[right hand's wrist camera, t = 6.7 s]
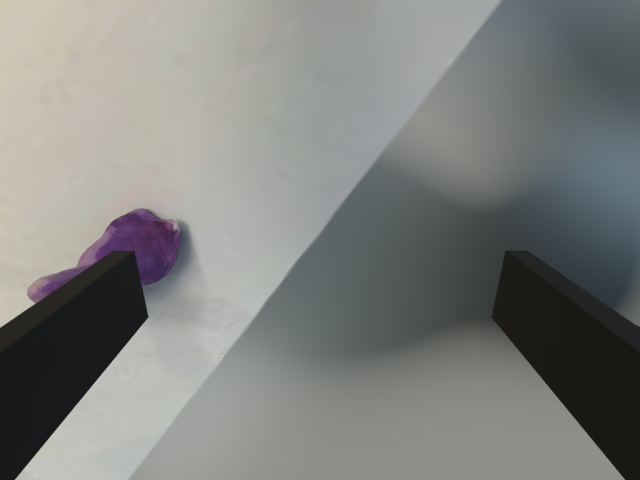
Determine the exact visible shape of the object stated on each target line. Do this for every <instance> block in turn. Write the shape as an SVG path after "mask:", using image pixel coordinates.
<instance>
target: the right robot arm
mask: <svg viewBox="0 0 640 480" xmlns="http://www.w3.org/2000/svg"><path fill="white" fill-rule="evenodd" d="M147 318H148V313H147V308H146V303H145V299H144V294H143V289H142V284H141V279H140V275H139V270H138V265H137V260H136V255H135V251H112V252H110V253H109V254H107V255H106V256H104V257H103V258H101V259H100V260H99V261H97V262H96V263H94V264H93V265H91V266H90V267H88V268H87V269H85V270H84V271H82V272H81V273H80V274H78V275H77V276H75V277H74V278H72V279H71V280H69V281H68V282H66V283H65V284H64V285H62V286H61V287H59V288H58V289H56V290H55V291H53V292H52V293H50V294H49V295H47V296H46V297H45V298H43V299H42V300H40V301H39V302H37V303H36V304H34V305H33V306H31V307H30V308H29V309H27V310H26V311H24V312H23V313H21V314H20V315H18V316H17V317H15V318H14V319H13V320H11V321H10V322H8V323H7V324H5V325H4V326H2V327H1V328H0V480H15V479H16V478H17V476H18V475H19V474H20V473H21V472H22V470H23V469H24V468H25V467H26V465H27V464H28V463H29V462H30V461H31V459H32V458H33V457H34V456H35V454H36V453H37V452H38V451H39V450H40V448H41V447H42V446H43V445H44V444H45V442H46V441H47V440H48V439H49V437H50V436H51V435H52V434H53V433H54V431H55V430H56V429H57V428H58V427H59V425H60V424H61V423H62V422H63V420H64V419H65V418H66V417H67V416H68V414H69V413H70V412H71V411H72V409H73V408H74V407H75V406H76V405H77V403H78V402H79V401H80V400H81V399H82V397H83V396H84V395H85V394H86V392H87V391H88V390H89V389H90V388H91V386H92V385H93V384H94V383H95V382H96V380H97V379H98V378H99V377H100V375H101V374H102V373H103V372H104V371H105V369H106V368H107V367H108V366H109V364H110V363H111V362H112V361H113V360H114V358H115V357H116V356H117V355H118V354H119V352H120V351H121V350H122V349H123V347H124V346H125V345H126V344H127V343H128V341H129V340H130V339H131V338H132V337H133V335H134V334H135V333H136V332H137V330H138V329H139V328H140V327H141V326H142V324H143V323H144V322H145V321H146V319H147ZM492 318H493V319H494V321H495V322H496V323H497V324H498V326H499V327H500V328H501V329H502V330H503V332H504V333H505V334H506V335H507V336H508V338H509V339H510V340H511V341H512V343H513V344H514V345H515V346H516V347H517V349H518V350H519V351H520V352H521V354H522V355H523V356H524V357H525V358H526V360H527V361H528V362H529V363H530V364H531V366H532V367H533V368H534V369H535V371H536V372H537V373H538V374H539V375H540V377H541V378H542V379H543V380H544V381H545V383H546V384H547V385H548V386H549V388H550V389H551V390H552V391H553V392H554V394H555V395H556V396H557V397H558V399H559V400H560V401H561V402H562V403H563V405H564V406H565V407H566V408H567V409H568V411H569V412H570V413H571V414H572V416H573V417H574V418H575V419H576V420H577V422H578V423H579V424H580V425H581V426H582V428H583V429H584V430H585V431H586V433H587V434H588V435H589V436H590V437H591V439H592V440H593V441H594V442H595V444H596V445H597V446H598V447H599V448H600V450H601V451H602V452H603V453H604V454H605V456H606V457H607V458H608V459H609V460H610V462H611V463H612V464H613V465H614V467H615V468H616V469H617V470H618V471H619V473H620V474H621V475H622V476H623V478H624V479H625V480H640V327H639V326H637V325H635V324H633V323H632V322H630V321H629V320H627V319H626V318H624V317H623V316H622V315H620V314H619V313H617V312H616V311H614V310H613V309H611V308H610V307H609V306H607V305H606V304H604V303H603V302H601V301H600V300H598V299H597V298H595V297H594V296H592V295H591V294H590V293H588V292H587V291H585V290H584V289H582V288H581V287H579V286H578V285H576V284H575V283H574V282H572V281H571V280H569V279H568V278H566V277H565V276H563V275H562V274H560V273H559V272H558V271H556V270H555V269H553V268H552V267H550V266H549V265H547V264H546V263H544V262H543V261H541V260H540V259H539V258H537V257H536V256H534V255H533V254H531V253H530V252H528V251H505V255H504V260H503V265H502V270H501V275H500V279H499V284H498V289H497V294H496V299H495V303H494V308H493V313H492Z"/></svg>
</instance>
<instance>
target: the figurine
mask: <svg viewBox="0 0 640 480" xmlns="http://www.w3.org/2000/svg"><path fill="white" fill-rule="evenodd" d="M180 234H181V230H180V226H179V224H178V223H177V222H176V221H175V220H160V219H158V218H157V217H155V216H154V215H152V214H151V213H150V212H149V211H148V210H146V209H135V210H133V211H131V212H129V213H127V214H126V215H124V216H121V217H119V218H117V219H115V220H114V221H112V222H111V224H110V225H109V226H108V227H107V229H106V230H105V232H104V234H103V236H102V237H101V238H100V239H99V240H98V241H97V242H95V243H94V244H93V245H92V246H90V247H89V248H88V249H87V250H86V251H85V252H84V253H83V255H82V256H81V257H80V259H79V262H78V264H77V267H76V268H72V269H68V270H64V271H61V272H59V273H56V274H53V275H49V276H46V277H42V278H39V279H38V280H36V281H35V282H33V283H32V284H31V285H30V286H29V288H28V292H27V295H28V297H29V298H30V299H31V300H32V301H33V302H35V303H37V302H39V301H40V300H42V299H43V298H45V297H46V296H47V295H49V294H50V293H52V292H53V291H55V290H56V289H58V288H59V287H61V286H62V285H64V284H65V283H66V282H68V281H69V280H71V279H72V278H74V277H75V276H77V275H78V274H80V273H81V272H82V271H84V270H85V269H87V268H88V267H90V266H91V265H93V264H94V263H96V262H97V261H99V260H100V259H101V258H103V257H104V256H106V255H107V254H109V253H110V252H112V251H135V255H136V260H137V265H138V270H139V275H140V279H141V284H142V285H148V284H151V283H154V282H157V281H159V280H160V279H162V278H163V277H165V276H166V275H167V274H168V273H169V271H170V270H171V268H172V266H173V265H174V263H175V262H176V253H177V250H178V247H179V241H180Z"/></svg>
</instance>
